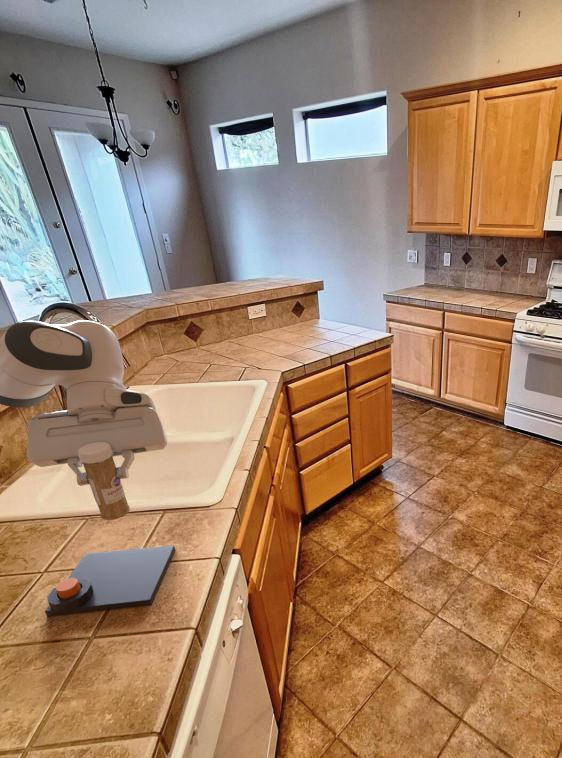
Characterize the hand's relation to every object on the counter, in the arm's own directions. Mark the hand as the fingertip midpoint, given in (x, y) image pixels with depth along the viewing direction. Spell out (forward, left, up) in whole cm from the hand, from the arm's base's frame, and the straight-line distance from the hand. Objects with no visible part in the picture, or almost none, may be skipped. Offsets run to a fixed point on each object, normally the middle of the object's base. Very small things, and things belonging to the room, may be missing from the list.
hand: (104, 481), depth 73 cm
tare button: (-6, -8, -16) cm, 19 cm away
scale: (-1, -4, -19) cm, 20 cm away
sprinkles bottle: (0, +1, -7) cm, 7 cm away
